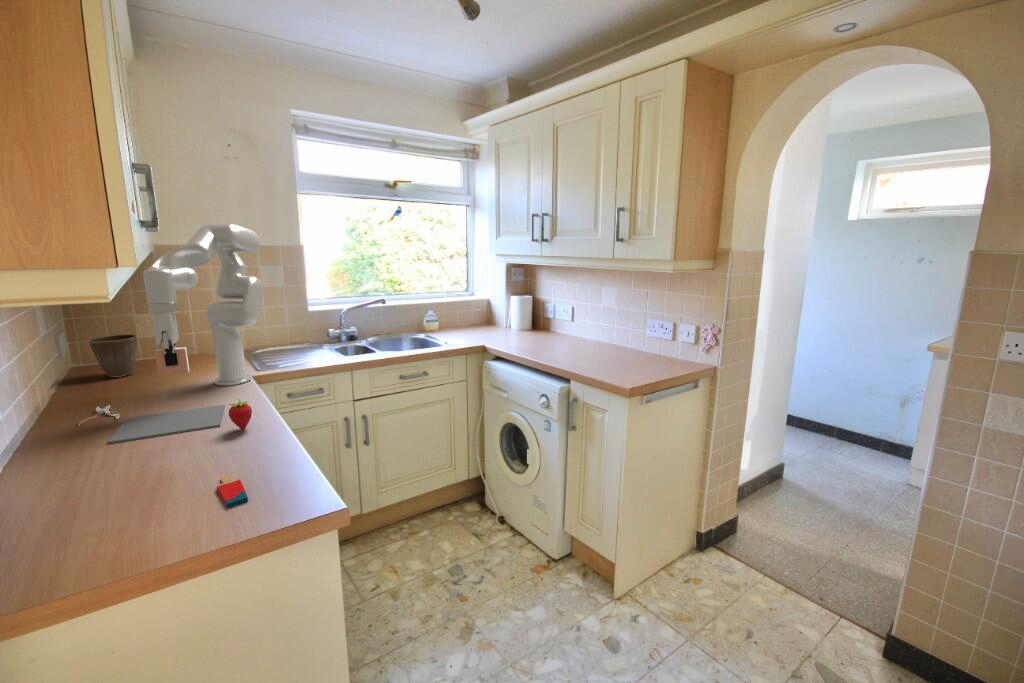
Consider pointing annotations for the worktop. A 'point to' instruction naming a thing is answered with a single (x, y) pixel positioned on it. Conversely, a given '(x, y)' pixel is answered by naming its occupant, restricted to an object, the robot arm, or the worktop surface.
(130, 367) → the plant pot
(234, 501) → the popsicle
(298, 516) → the worktop surface
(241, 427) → the strawberry
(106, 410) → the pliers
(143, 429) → the mat
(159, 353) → the tile
